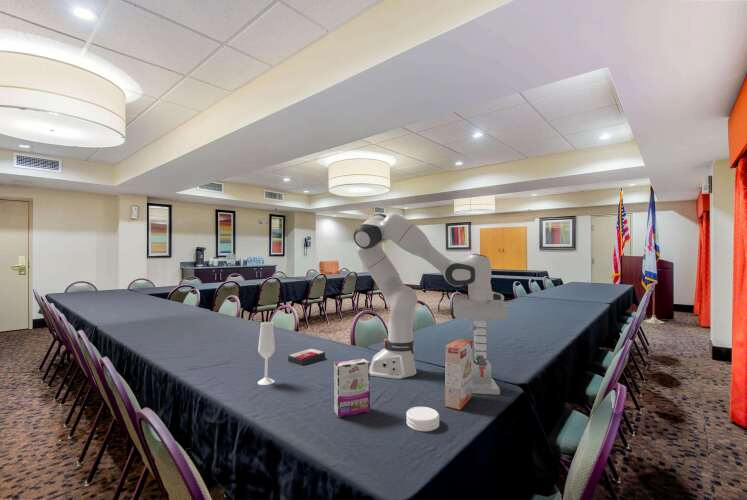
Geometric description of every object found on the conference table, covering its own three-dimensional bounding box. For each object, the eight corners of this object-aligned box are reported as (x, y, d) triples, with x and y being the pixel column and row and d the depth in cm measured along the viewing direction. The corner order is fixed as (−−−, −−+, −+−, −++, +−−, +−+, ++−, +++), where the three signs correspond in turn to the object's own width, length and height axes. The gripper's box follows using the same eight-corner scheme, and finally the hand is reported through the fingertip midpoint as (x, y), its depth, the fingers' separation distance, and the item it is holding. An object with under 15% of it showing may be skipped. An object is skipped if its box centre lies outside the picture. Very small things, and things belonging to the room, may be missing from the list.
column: (475, 374, 133) (475, 322, 134) (474, 371, 137) (473, 320, 138) (486, 374, 132) (486, 322, 133) (484, 371, 136) (484, 321, 137)
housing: (466, 393, 129) (466, 359, 130) (462, 382, 141) (462, 351, 142) (499, 394, 128) (499, 360, 128) (492, 383, 140) (492, 352, 140)
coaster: (435, 417, 110) (435, 405, 110) (442, 432, 100) (442, 420, 100) (404, 417, 109) (404, 405, 110) (408, 432, 100) (408, 420, 100)
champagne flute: (253, 383, 138) (254, 323, 139) (264, 378, 144) (265, 321, 145) (267, 385, 136) (268, 324, 137) (277, 380, 142) (278, 322, 143)
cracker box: (461, 411, 113) (461, 347, 114) (444, 407, 117) (444, 345, 117) (473, 397, 125) (473, 339, 126) (457, 393, 128) (457, 337, 129)
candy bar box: (364, 406, 117) (364, 357, 118) (370, 412, 112) (370, 361, 113) (333, 412, 112) (333, 361, 113) (337, 418, 108) (338, 365, 108)
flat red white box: (287, 354, 170) (311, 347, 181) (287, 363, 170) (311, 355, 181) (301, 358, 163) (325, 350, 174) (302, 367, 163) (325, 359, 174)
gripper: (453, 295, 134) (454, 330, 133) (508, 296, 131) (508, 332, 131) (452, 293, 140) (452, 327, 140) (504, 294, 138) (504, 329, 137)
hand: (480, 330), depth 135 cm, fingers closed on column, 4 cm apart
